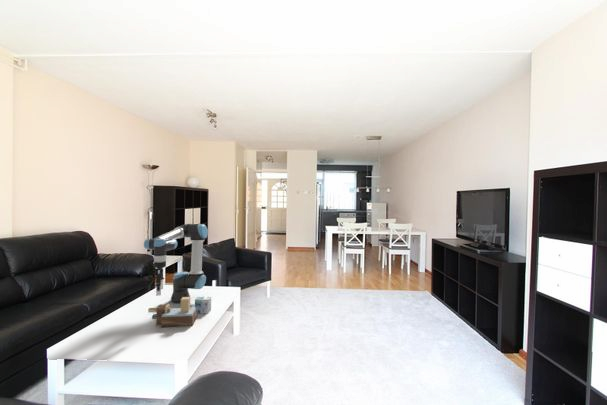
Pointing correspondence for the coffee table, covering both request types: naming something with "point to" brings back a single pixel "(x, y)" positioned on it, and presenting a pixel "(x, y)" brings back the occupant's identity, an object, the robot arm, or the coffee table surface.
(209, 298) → the light bulb box
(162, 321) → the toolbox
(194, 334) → the coffee table surface
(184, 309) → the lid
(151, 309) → the key
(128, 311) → the coffee table surface
